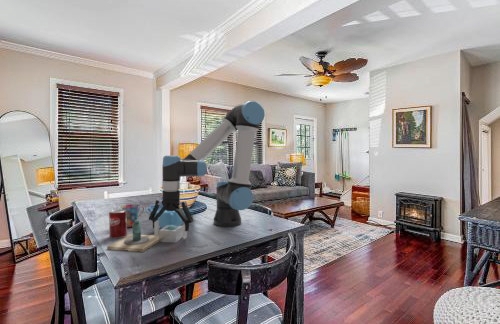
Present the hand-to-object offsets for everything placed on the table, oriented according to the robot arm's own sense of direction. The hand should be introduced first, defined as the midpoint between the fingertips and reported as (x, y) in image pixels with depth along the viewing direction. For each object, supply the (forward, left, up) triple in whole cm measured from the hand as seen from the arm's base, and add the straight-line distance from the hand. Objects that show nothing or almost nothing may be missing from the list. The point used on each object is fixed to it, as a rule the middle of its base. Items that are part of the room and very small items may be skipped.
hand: (170, 236), depth 121 cm
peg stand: (+12, +8, -1) cm, 14 cm away
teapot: (+7, -15, -1) cm, 17 cm away
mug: (+30, -17, -1) cm, 34 cm away
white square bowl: (0, 0, -1) cm, 1 cm away
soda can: (+26, +1, -1) cm, 26 cm away
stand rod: (0, 0, -1) cm, 1 cm away
